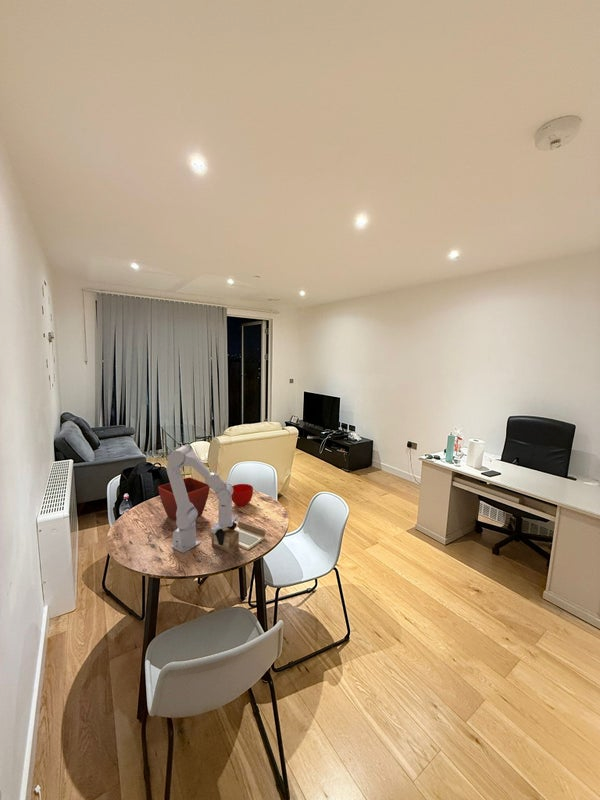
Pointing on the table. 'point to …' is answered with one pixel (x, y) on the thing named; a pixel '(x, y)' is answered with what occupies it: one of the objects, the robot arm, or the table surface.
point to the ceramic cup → (242, 494)
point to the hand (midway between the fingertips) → (224, 541)
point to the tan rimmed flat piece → (249, 535)
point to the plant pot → (195, 493)
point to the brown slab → (227, 540)
